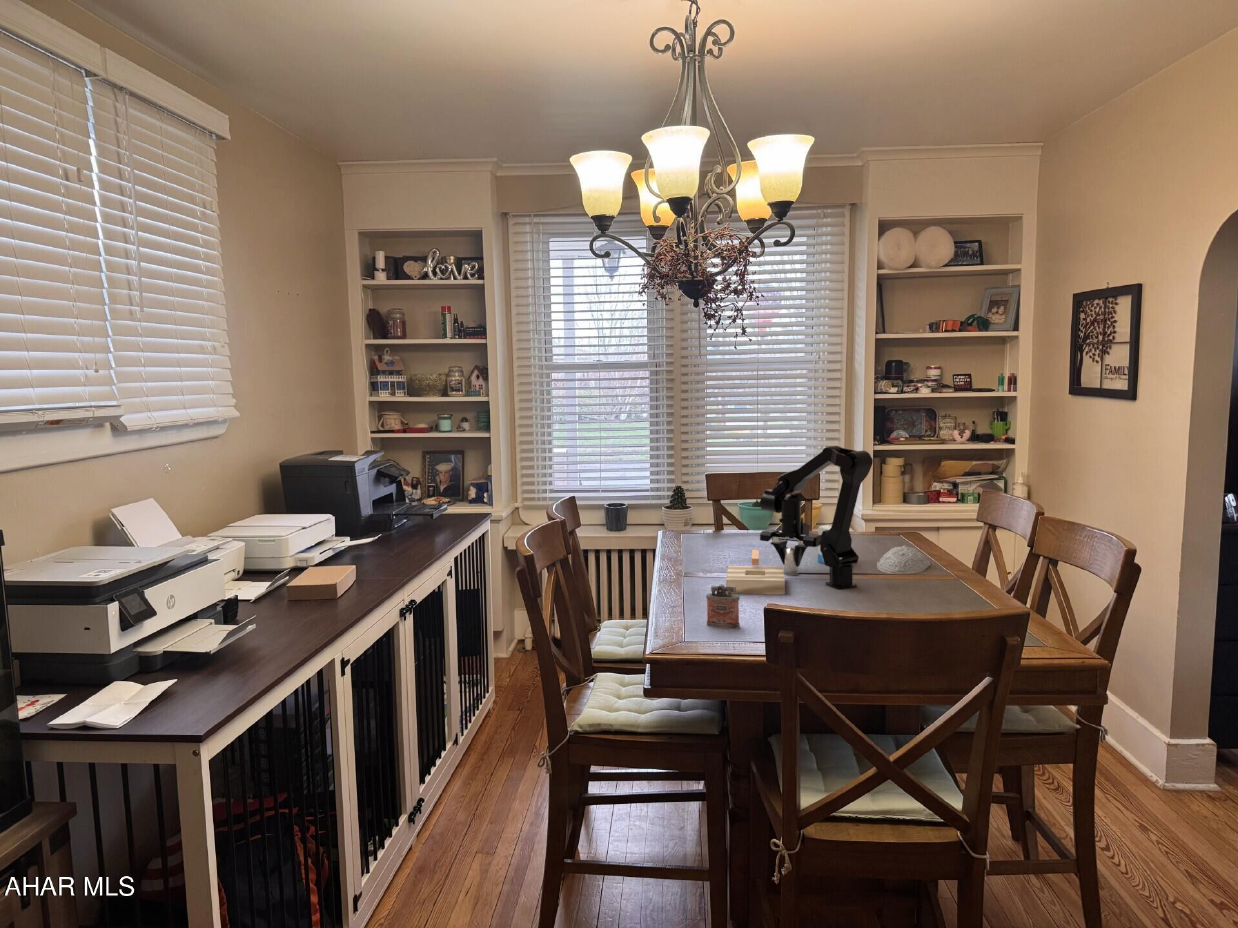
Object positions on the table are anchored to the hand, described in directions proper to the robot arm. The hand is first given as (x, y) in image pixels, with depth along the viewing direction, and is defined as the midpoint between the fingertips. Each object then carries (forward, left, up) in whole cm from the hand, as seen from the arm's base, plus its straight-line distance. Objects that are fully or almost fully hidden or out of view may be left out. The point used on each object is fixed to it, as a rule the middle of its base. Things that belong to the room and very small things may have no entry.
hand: (791, 565), depth 239 cm
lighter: (-36, +42, -3) cm, 55 cm away
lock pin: (+4, +10, +2) cm, 11 cm away
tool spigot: (0, 0, -2) cm, 2 cm away
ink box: (+7, -20, -3) cm, 21 cm away
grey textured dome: (-6, -37, -3) cm, 37 cm away
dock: (-8, +17, -2) cm, 19 cm away
